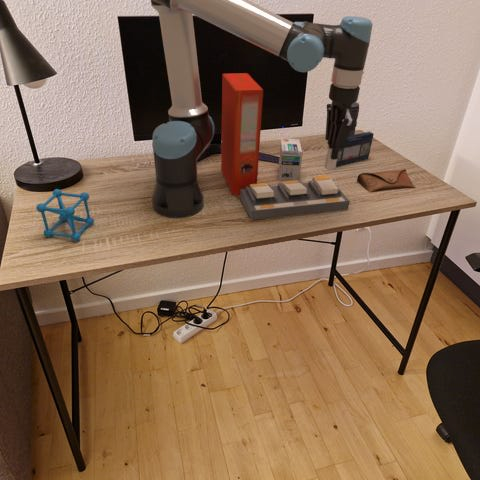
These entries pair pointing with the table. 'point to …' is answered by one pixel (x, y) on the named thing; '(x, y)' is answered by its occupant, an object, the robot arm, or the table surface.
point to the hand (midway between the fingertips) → (329, 167)
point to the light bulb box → (290, 159)
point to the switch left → (261, 190)
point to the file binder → (240, 130)
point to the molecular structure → (65, 214)
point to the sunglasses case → (385, 180)
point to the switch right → (325, 184)
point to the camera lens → (354, 116)
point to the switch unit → (292, 202)
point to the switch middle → (294, 187)
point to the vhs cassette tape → (355, 149)
